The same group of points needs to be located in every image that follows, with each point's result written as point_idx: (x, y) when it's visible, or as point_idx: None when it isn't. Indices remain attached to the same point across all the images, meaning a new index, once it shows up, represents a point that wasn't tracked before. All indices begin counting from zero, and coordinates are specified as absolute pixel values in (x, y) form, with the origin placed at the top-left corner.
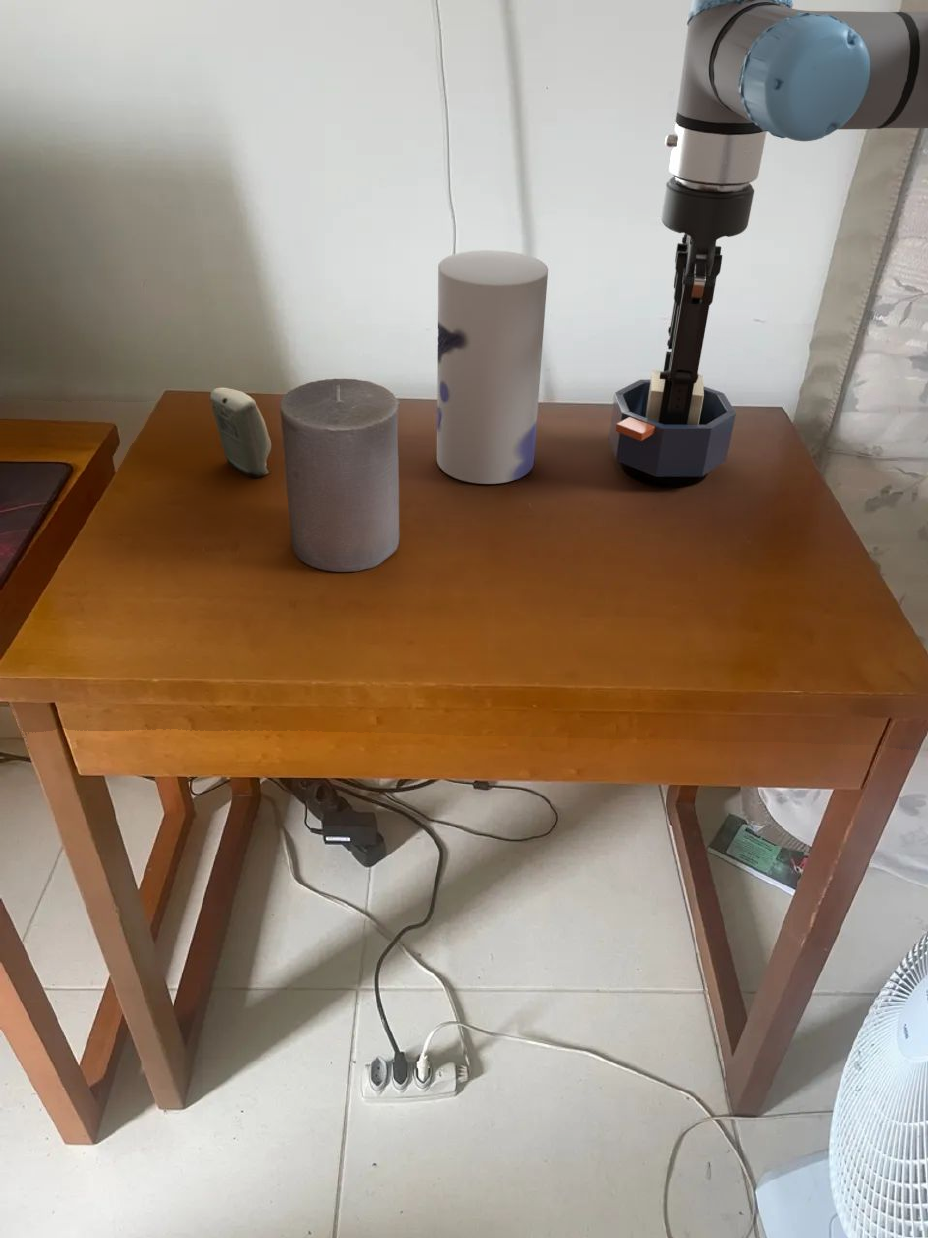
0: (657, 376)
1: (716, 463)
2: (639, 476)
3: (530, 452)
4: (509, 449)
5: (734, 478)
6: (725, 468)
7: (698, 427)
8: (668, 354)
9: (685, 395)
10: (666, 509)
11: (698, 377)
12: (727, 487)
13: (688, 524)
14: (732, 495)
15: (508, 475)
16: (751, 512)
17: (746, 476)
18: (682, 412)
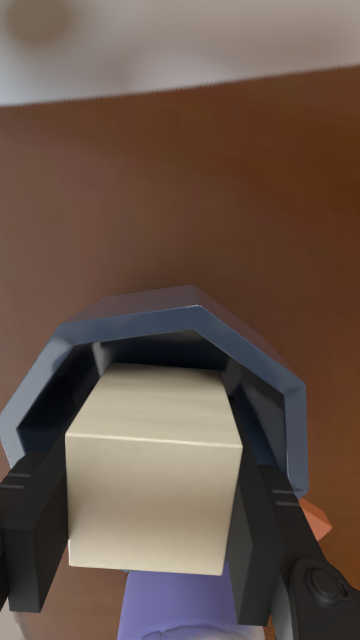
0: (114, 556)
1: (227, 310)
2: None
3: (221, 580)
4: (258, 628)
5: (191, 258)
6: (155, 270)
7: (303, 415)
8: (38, 605)
9: (309, 525)
10: (304, 378)
11: (93, 449)
12: (226, 275)
13: (349, 350)
14: (254, 269)
15: None
16: (311, 243)
17: (181, 234)
18: (281, 473)
